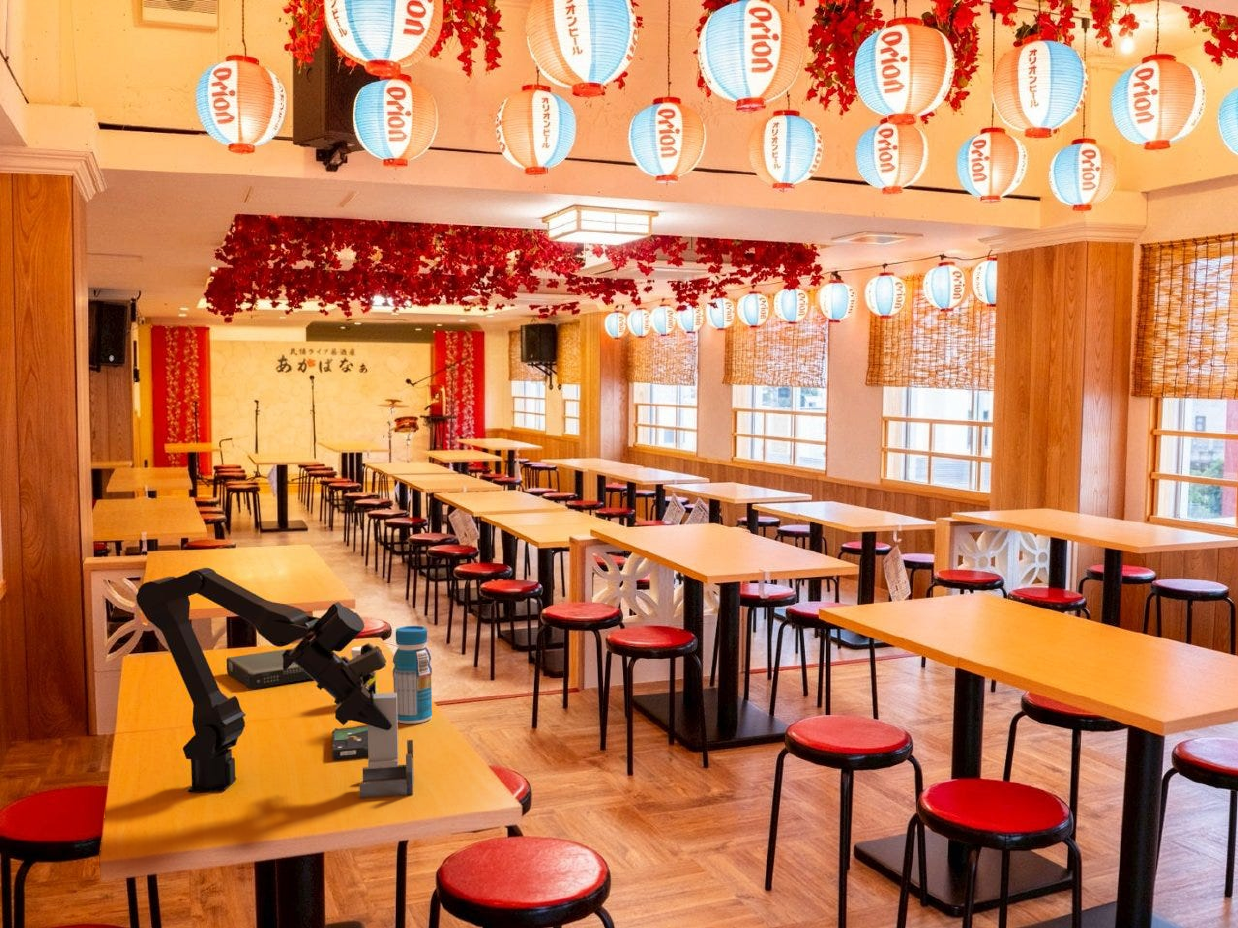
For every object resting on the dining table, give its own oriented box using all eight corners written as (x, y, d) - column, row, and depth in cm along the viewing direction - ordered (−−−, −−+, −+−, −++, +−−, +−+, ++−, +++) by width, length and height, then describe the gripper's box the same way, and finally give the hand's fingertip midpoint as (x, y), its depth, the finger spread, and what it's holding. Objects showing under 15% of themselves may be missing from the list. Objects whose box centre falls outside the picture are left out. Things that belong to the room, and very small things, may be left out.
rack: (359, 798, 184) (358, 758, 183) (363, 780, 192) (362, 742, 192) (413, 794, 185) (412, 755, 185) (414, 777, 194) (413, 739, 194)
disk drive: (387, 758, 207) (382, 735, 221) (387, 744, 207) (382, 722, 221) (332, 764, 204) (331, 740, 218) (332, 749, 204) (330, 727, 218)
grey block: (368, 767, 186) (366, 700, 185) (370, 758, 191) (368, 692, 190) (397, 765, 186) (396, 698, 186) (398, 756, 191) (397, 691, 191)
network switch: (301, 662, 288) (301, 644, 288) (343, 677, 271) (343, 657, 271) (216, 677, 273) (216, 658, 272) (255, 694, 255) (254, 673, 255)
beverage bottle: (393, 726, 226) (391, 633, 225) (393, 715, 234) (391, 625, 233) (433, 723, 228) (431, 631, 227) (432, 712, 236) (430, 623, 235)
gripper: (353, 644, 178) (421, 706, 180) (361, 623, 196) (423, 678, 198) (306, 693, 177) (375, 754, 179) (318, 667, 195) (381, 722, 197)
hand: (390, 725), depth 188 cm, fingers closed on grey block, 3 cm apart
